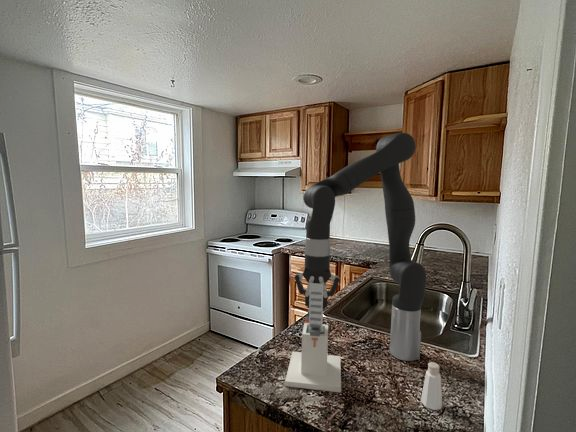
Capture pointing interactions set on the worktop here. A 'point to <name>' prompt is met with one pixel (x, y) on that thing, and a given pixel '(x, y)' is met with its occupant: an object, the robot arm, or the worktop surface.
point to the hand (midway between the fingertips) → (316, 307)
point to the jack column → (316, 307)
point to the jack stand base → (314, 363)
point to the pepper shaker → (432, 388)
